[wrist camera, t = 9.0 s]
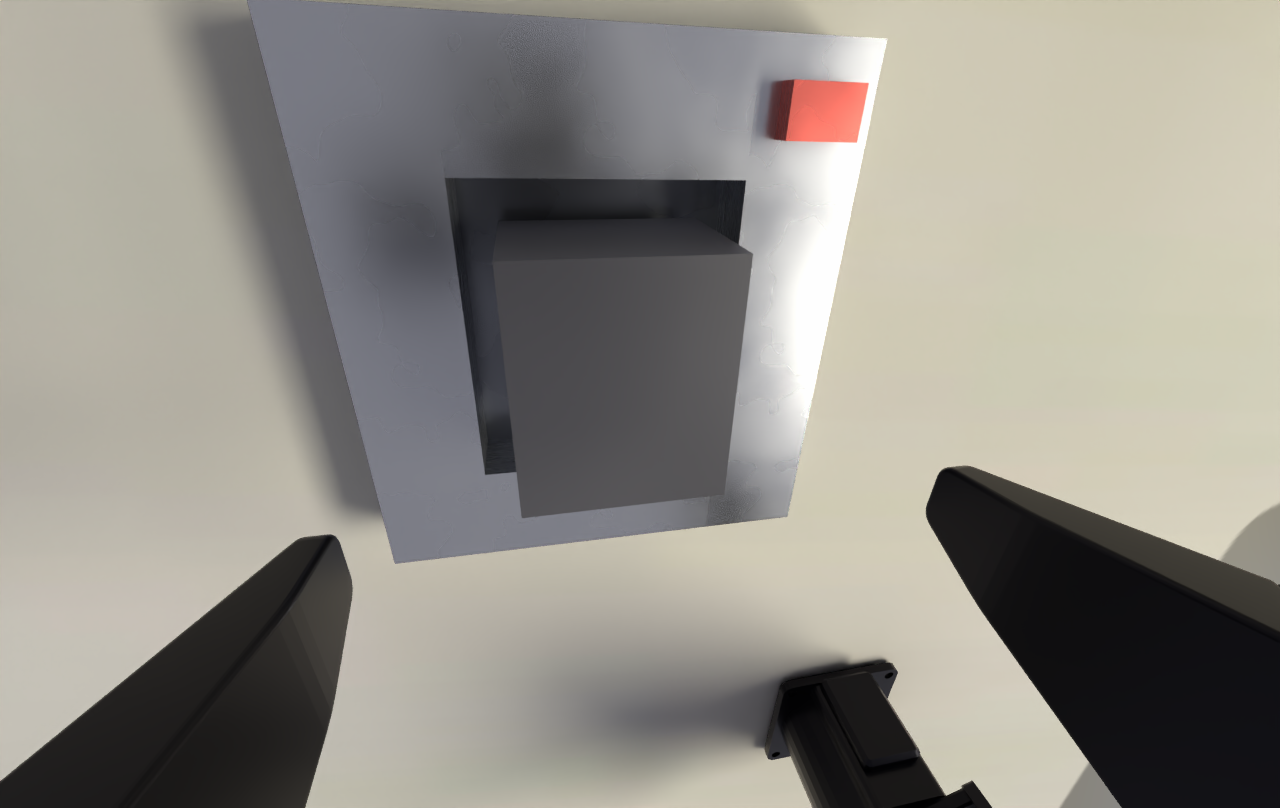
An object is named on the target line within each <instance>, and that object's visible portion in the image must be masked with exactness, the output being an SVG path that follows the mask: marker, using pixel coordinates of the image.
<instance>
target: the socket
mask: <svg viewBox="0 0 1280 808" xmlns="http://www.w3.org/2000/svg"><path fill="white" fill-rule="evenodd" d="M247 2H248V6H249V10H250V14H251V17H252V21H253V25H254V29H255V33H256V36H257V40H258V44H259V48H260V52H261V55H262V59H263V63H264V67H265V71H266V74H267V78H268V82H269V86H270V90H271V94H272V97H273V101H274V105H275V109H276V113H277V116H278V120H279V124H280V128H281V132H282V135H283V139H284V143H285V147H286V151H287V154H288V158H289V162H290V166H291V170H292V173H293V177H294V181H295V185H296V189H297V193H298V196H299V200H300V204H301V208H302V212H303V215H304V219H305V223H306V227H307V231H308V234H309V238H310V242H311V246H312V250H313V253H314V257H315V261H316V265H317V269H318V273H319V276H320V280H321V284H322V288H323V292H324V295H325V299H326V303H327V307H328V311H329V314H330V318H331V322H332V326H333V330H334V333H335V337H336V341H337V345H338V349H339V353H340V356H341V360H342V364H343V368H344V372H345V375H346V379H347V383H348V387H349V391H350V394H351V398H352V402H353V406H354V410H355V413H356V417H357V421H358V425H359V429H360V433H361V436H362V440H363V444H364V448H365V452H366V455H367V459H368V463H369V467H370V471H371V474H372V478H373V482H374V486H375V490H376V493H377V497H378V501H379V505H380V509H381V512H382V516H383V520H384V524H385V528H386V532H387V535H388V539H389V543H390V547H391V551H392V554H393V558H394V562H395V564H397V563H405V562H414V561H422V560H430V559H439V558H447V557H455V556H464V555H472V554H480V553H489V552H497V551H505V550H514V549H522V548H530V547H539V546H547V545H555V544H564V543H572V542H580V541H589V540H597V539H605V538H614V537H622V536H630V535H639V534H647V533H655V532H664V531H672V530H680V529H689V528H697V527H705V526H714V525H722V524H730V523H739V522H747V521H755V520H763V519H772V518H780V517H787V516H788V511H789V506H790V501H791V497H792V492H793V487H794V482H795V477H796V473H797V468H798V463H799V458H800V453H801V449H802V444H803V439H804V434H805V430H806V425H807V420H808V415H809V410H810V406H811V401H812V396H813V391H814V387H815V382H816V377H817V372H818V367H819V363H820V358H821V353H822V348H823V344H824V339H825V334H826V329H827V324H828V320H829V315H830V310H831V305H832V300H833V296H834V291H835V286H836V281H837V277H838V272H839V267H840V262H841V257H842V253H843V248H844V243H845V238H846V234H847V229H848V224H849V219H850V214H851V210H852V205H853V200H854V195H855V191H856V186H857V181H858V176H859V171H860V167H861V162H862V157H863V152H864V147H865V143H866V138H867V133H868V128H869V124H870V119H871V114H872V109H873V104H874V100H875V95H876V90H877V85H878V81H879V76H880V71H881V66H882V61H883V57H884V52H885V47H886V42H887V39H882V38H867V37H851V36H836V35H821V34H805V33H790V32H775V31H759V30H744V29H729V28H713V27H698V26H683V25H667V24H652V23H637V22H621V21H606V20H591V19H575V18H560V17H545V16H529V15H514V14H499V13H483V12H468V11H453V10H437V9H422V8H407V7H391V6H376V5H361V4H346V3H330V2H315V1H300V0H247ZM650 218H696V219H698V220H699V221H701V222H703V223H704V224H706V225H707V226H709V227H711V228H712V229H714V230H716V231H717V232H719V233H720V234H722V235H724V236H725V237H727V238H729V239H730V240H732V241H733V242H735V243H737V244H738V245H740V246H742V247H743V248H745V249H746V250H748V251H750V252H751V253H753V260H752V268H751V276H750V285H749V293H748V301H747V309H746V318H745V326H744V334H743V343H742V351H741V359H740V368H739V376H738V384H737V393H736V401H735V409H734V417H733V426H732V434H731V442H730V451H729V459H728V467H727V476H726V484H725V492H724V495H717V496H708V497H700V498H691V499H683V500H674V501H666V502H657V503H649V504H640V505H632V506H623V507H614V508H606V509H597V510H589V511H580V512H572V513H563V514H555V515H546V516H538V517H529V518H522V517H521V508H520V499H519V490H518V482H517V473H516V464H515V455H514V447H513V438H512V429H511V420H510V412H509V403H508V394H507V385H506V377H505V368H504V359H503V350H502V342H501V333H500V324H499V315H498V306H497V298H496V289H495V280H494V271H493V263H492V261H493V254H494V247H495V241H496V234H497V227H498V221H529V220H590V219H650Z"/></svg>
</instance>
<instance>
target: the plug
mask: <svg viewBox="0 0 1280 808" xmlns="http://www.w3.org/2000/svg"><path fill="white" fill-rule="evenodd" d="M752 260H753V253H751V252H750V251H748V250H746V249H745V248H743V247H742V246H740V245H738V244H737V243H735V242H733V241H732V240H730V239H729V238H727V237H725V236H724V235H722V234H720V233H719V232H717V231H716V230H714V229H712V228H711V227H709V226H707V225H706V224H704V223H703V222H701V221H699V220H698V219H696V218H650V219H590V220H529V221H498V227H497V234H496V241H495V247H494V254H493V261H492V263H493V271H494V280H495V289H496V298H497V306H498V315H499V324H500V333H501V342H502V350H503V359H504V368H505V377H506V385H507V394H508V403H509V412H510V420H511V429H512V438H513V447H514V455H515V464H516V473H517V482H518V490H519V499H520V508H521V517H522V518H529V517H538V516H546V515H555V514H563V513H572V512H580V511H589V510H597V509H606V508H614V507H623V506H632V505H640V504H649V503H657V502H666V501H674V500H683V499H691V498H700V497H708V496H717V495H724V492H725V484H726V476H727V467H728V459H729V451H730V442H731V434H732V426H733V417H734V409H735V401H736V393H737V384H738V376H739V368H740V359H741V351H742V343H743V334H744V326H745V318H746V309H747V301H748V293H749V285H750V276H751V268H752Z"/></svg>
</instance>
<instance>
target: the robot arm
mask: <svg viewBox="0 0 1280 808" xmlns="http://www.w3.org/2000/svg"><path fill="white" fill-rule="evenodd" d="M926 517H927V520H928V522H929V524H930V526H931V528H932V530H933V531H934V533H935V535H936V536H937V538H938V540H939V541H940V543H941V545H942V547H943V548H944V550H945V552H946V553H947V555H948V557H949V558H950V560H951V562H952V563H953V565H954V567H955V569H956V570H957V572H958V574H959V575H960V577H961V579H962V580H963V582H964V584H965V586H966V587H967V589H968V591H969V592H970V594H971V596H972V597H973V599H974V600H975V602H976V604H977V605H978V607H979V608H980V610H981V611H982V613H983V614H984V615H985V617H986V618H987V620H988V621H989V623H990V624H991V625H992V627H993V628H994V630H995V631H996V632H997V634H998V635H999V637H1000V638H1001V639H1002V641H1003V642H1004V644H1005V645H1006V646H1007V648H1008V649H1009V651H1010V652H1011V653H1012V655H1013V656H1014V658H1015V659H1016V660H1017V662H1018V663H1019V665H1020V666H1021V667H1022V669H1023V670H1024V672H1025V673H1026V674H1027V676H1028V677H1029V679H1030V680H1031V681H1032V683H1033V684H1034V686H1035V687H1036V688H1037V690H1038V691H1039V693H1040V694H1041V695H1042V697H1043V698H1044V700H1045V701H1046V702H1047V704H1048V705H1049V707H1050V708H1051V709H1052V711H1053V712H1054V714H1055V715H1056V716H1057V718H1058V719H1059V721H1060V722H1061V723H1062V725H1063V726H1064V728H1065V729H1066V730H1067V732H1068V733H1069V735H1070V736H1071V737H1072V739H1073V740H1074V742H1075V743H1076V744H1077V746H1078V747H1079V749H1080V750H1081V751H1082V753H1083V754H1084V756H1085V757H1086V758H1087V760H1088V761H1089V763H1090V764H1091V765H1092V767H1093V768H1094V770H1095V771H1096V772H1097V774H1098V775H1099V777H1100V778H1101V779H1102V781H1103V782H1104V784H1105V785H1106V786H1107V787H1108V789H1109V791H1110V792H1111V793H1112V795H1113V796H1114V798H1115V799H1116V800H1117V802H1118V803H1119V804H1120V806H1121V807H1122V808H1280V584H1279V585H1277V584H1276V583H1274V582H1273V581H1271V580H1269V579H1266V578H1263V577H1261V576H1258V575H1256V574H1253V573H1250V572H1247V571H1245V570H1242V569H1240V568H1237V567H1235V566H1232V565H1229V564H1227V563H1224V562H1221V561H1219V560H1216V559H1214V558H1211V557H1208V556H1206V555H1203V554H1200V553H1198V552H1195V551H1193V550H1190V549H1187V548H1185V547H1182V546H1179V545H1177V544H1174V543H1171V542H1169V541H1166V540H1164V539H1161V538H1158V537H1156V536H1153V535H1150V534H1148V533H1145V532H1143V531H1140V530H1137V529H1135V528H1132V527H1129V526H1127V525H1124V524H1122V523H1119V522H1116V521H1114V520H1111V519H1108V518H1106V517H1103V516H1101V515H1098V514H1095V513H1093V512H1090V511H1087V510H1085V509H1082V508H1079V507H1077V506H1074V505H1072V504H1069V503H1066V502H1064V501H1061V500H1058V499H1056V498H1053V497H1051V496H1048V495H1045V494H1043V493H1040V492H1037V491H1035V490H1032V489H1030V488H1027V487H1024V486H1022V485H1019V484H1016V483H1014V482H1011V481H1009V480H1006V479H1003V478H1001V477H998V476H995V475H993V474H990V473H987V472H985V471H982V470H980V469H977V468H974V467H971V466H956V467H947V468H945V469H943V470H942V471H941V472H940V473H939V474H938V476H937V479H936V481H935V484H934V487H933V489H932V492H931V495H930V498H929V500H928V503H927V506H926ZM352 591H353V588H352V579H351V576H350V573H349V570H348V567H347V563H346V560H345V557H344V554H343V551H342V548H341V545H340V542H339V540H338V539H337V538H336V537H335V536H333V535H319V536H310V537H303V538H300V539H298V540H296V541H295V542H293V543H292V544H291V545H290V546H288V547H287V548H286V549H285V550H283V551H282V552H281V553H280V554H279V555H277V556H276V557H275V558H274V559H272V560H271V561H270V562H269V563H268V564H266V565H265V566H264V567H263V568H261V569H260V570H259V571H258V572H256V573H255V574H254V575H253V576H252V577H250V578H249V579H248V580H247V581H245V582H244V583H243V584H242V585H240V586H239V587H238V588H237V589H236V590H234V591H233V592H232V593H231V594H229V595H228V596H227V597H226V598H225V599H223V600H222V601H221V602H220V603H218V604H217V605H216V606H215V607H213V608H212V609H211V610H210V611H209V612H207V613H206V614H205V615H204V616H202V617H201V618H200V619H199V620H198V621H196V622H195V623H194V624H193V625H191V626H190V627H189V628H188V629H186V630H185V631H184V632H183V633H182V634H180V635H179V636H178V637H177V638H175V639H174V640H173V641H172V642H171V643H169V644H168V645H167V646H166V647H164V648H163V649H162V650H161V651H159V652H158V653H157V654H156V655H155V656H153V657H152V658H151V659H150V660H148V661H147V662H146V663H145V664H143V665H142V666H141V667H140V668H139V669H137V670H136V671H135V672H134V673H132V674H131V675H130V676H129V677H128V678H126V679H125V680H124V681H123V682H121V683H120V684H119V685H118V686H116V687H115V688H114V689H113V690H112V691H110V692H109V693H108V694H107V695H105V696H104V697H103V698H102V699H101V700H99V701H98V702H97V703H96V704H94V705H93V706H92V707H91V708H89V709H88V710H87V711H86V712H85V713H83V714H82V715H81V716H80V717H78V718H77V719H76V720H75V721H74V722H72V723H71V724H70V725H69V726H67V727H66V728H65V729H64V730H62V731H61V732H60V733H59V734H58V735H56V736H55V737H54V738H53V739H51V740H50V741H49V742H48V743H46V744H45V745H44V746H43V747H42V748H40V749H39V750H38V751H37V752H35V753H34V754H33V755H32V756H31V757H29V758H28V759H27V760H26V761H24V762H23V763H22V764H21V765H19V766H18V767H17V768H16V769H15V770H13V771H12V772H11V773H10V774H8V775H7V776H6V777H5V778H4V779H2V780H1V781H0V808H305V807H306V803H307V800H308V796H309V793H310V789H311V786H312V782H313V779H314V775H315V772H316V768H317V765H318V761H319V758H320V755H321V751H322V748H323V744H324V741H325V737H326V734H327V730H328V726H329V722H330V718H331V714H332V710H333V705H334V700H335V694H336V689H337V683H338V677H339V671H340V665H341V660H342V654H343V648H344V642H345V636H346V630H347V624H348V618H349V613H350V607H351V601H352ZM897 674H898V671H897V670H896V668H895V667H894V665H893V664H892V663H882V664H877V665H872V666H866V667H861V668H855V669H850V670H844V671H839V672H833V673H828V674H822V675H817V676H811V677H806V678H800V679H795V680H790V681H787V682H785V683H783V684H782V685H781V687H780V689H779V693H778V697H777V701H776V705H775V709H774V713H773V717H772V721H771V725H770V729H769V733H768V737H767V741H766V745H765V753H766V755H767V758H768V759H770V760H775V759H779V758H784V757H789V756H791V758H792V760H793V763H794V765H795V768H796V770H797V772H798V775H799V777H800V779H801V782H802V784H803V786H804V789H805V791H806V793H807V796H808V798H809V801H810V803H811V805H812V808H992V807H991V805H990V804H989V803H988V801H987V800H986V798H985V797H984V796H983V794H982V793H981V792H980V790H979V789H978V787H977V786H976V785H975V783H974V782H973V781H970V782H968V783H966V784H964V785H962V789H960V790H958V791H956V792H953V793H951V794H949V795H947V796H946V795H945V793H944V792H943V790H942V788H941V787H940V785H939V784H938V782H937V780H936V779H935V777H934V776H933V774H932V772H931V771H930V769H929V768H928V766H927V764H926V763H925V761H924V760H923V758H922V756H921V755H920V751H919V749H918V747H917V745H916V744H915V742H914V741H913V739H912V737H911V736H910V734H909V733H908V731H907V730H906V728H905V726H904V725H903V723H902V722H901V720H900V718H899V717H898V715H897V714H896V712H895V710H894V709H893V707H892V706H891V704H890V702H889V701H888V699H887V698H888V696H889V693H890V691H891V688H892V686H893V684H894V681H895V679H896V676H897Z"/></svg>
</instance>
